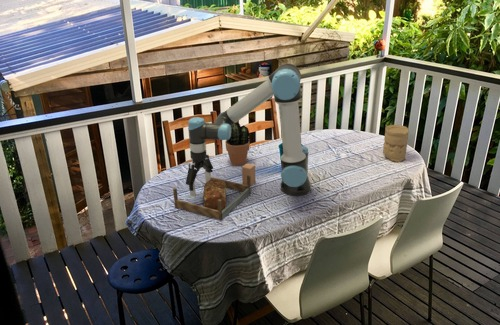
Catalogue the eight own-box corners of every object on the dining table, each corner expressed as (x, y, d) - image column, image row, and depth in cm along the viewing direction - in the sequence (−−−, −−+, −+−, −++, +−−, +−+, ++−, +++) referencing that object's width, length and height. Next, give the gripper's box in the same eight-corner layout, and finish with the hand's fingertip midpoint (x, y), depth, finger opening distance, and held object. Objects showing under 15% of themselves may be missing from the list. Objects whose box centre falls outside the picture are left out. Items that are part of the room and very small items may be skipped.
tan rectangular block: (255, 182, 236) (255, 165, 231) (250, 186, 232) (250, 168, 227) (247, 180, 238) (246, 163, 234) (242, 184, 234) (241, 167, 230)
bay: (250, 193, 225) (250, 175, 221) (221, 220, 203) (219, 200, 198) (207, 182, 236) (206, 165, 232) (175, 207, 214) (173, 188, 210)
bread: (226, 213, 209) (225, 194, 204) (203, 214, 208) (201, 195, 204) (226, 193, 225) (225, 175, 221) (205, 194, 225) (204, 176, 221)
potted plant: (241, 169, 250) (240, 127, 239) (221, 164, 257) (219, 123, 246) (254, 160, 260) (253, 119, 250) (235, 155, 267) (233, 115, 256)
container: (407, 156, 261) (411, 127, 253) (401, 164, 251) (405, 134, 244) (386, 152, 267) (389, 123, 259) (379, 159, 257) (382, 130, 250)
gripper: (205, 139, 223) (208, 177, 232) (175, 158, 204) (179, 199, 212) (218, 142, 220) (220, 180, 229) (189, 161, 200) (192, 202, 209)
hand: (200, 189), depth 221 cm, fingers open, 13 cm apart
